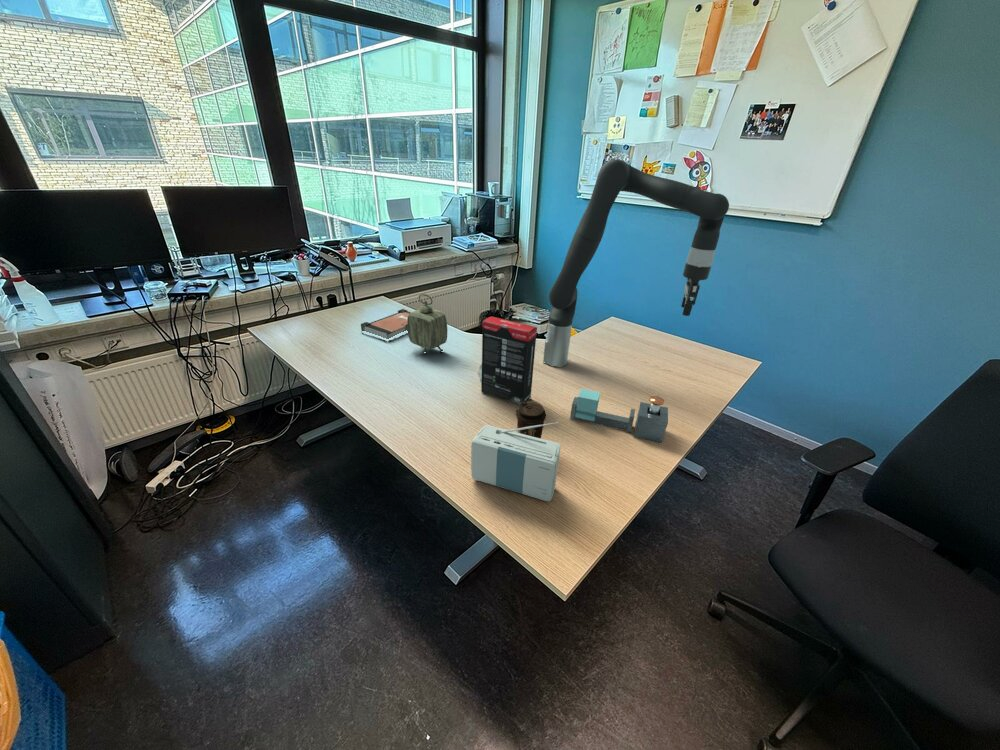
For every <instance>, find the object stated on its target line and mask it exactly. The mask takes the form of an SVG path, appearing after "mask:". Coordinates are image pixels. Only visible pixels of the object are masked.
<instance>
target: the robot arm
mask: <svg viewBox="0 0 1000 750" xmlns="http://www.w3.org/2000/svg"><path fill="white" fill-rule="evenodd" d="M620 192H625V193H632V194H635V195H640V196H643V197H646V198H647V199H651V200H653V201H654V202H657V203H659V204H662V205H664V206H668V207H670V208H674V209H676V210H680V211H685V212H688V213H691V214H692V215H694V216H697V217H699V219H698V223H697V228H696V230H695V233H694V236H693V239H692V242H691V245H690V246H691V247H690V248H689V251H688V254H687V257H686V260H685V265H684V269H683V272H682V276H683V278H684V277H685V279H687V280H686V281H685V286H684V289H683V298H682V301H681V304H680V306H681V308H683V310H682V316H685V317H689V316H690V315H691V313H692V310H693V306H695V305H696V300H697V298H698V294H699V291H700V287H701V285H700V283H699V282H700V281H706V280H708V279H709V277H710V276H709V274H710V271H711V270H712V265H713V262H714V259H715V255H716V249H717V246H718V242H719V239H720V235H721V228H722V225H723V221H724V219H725V217H726V214H728V211H729V209H730V203H729V200H728V198H727V196H725V195H724V194H722V193H716V192H715V193H714V192H711V191H707V190H704V189H699V188H698V187H696V186H693V185H690V184H687V183H685V182H681V181H677V180H674V179H669V178H664V177H660V176H658V175H653V174H651V173H647V172H645V171H642V170H640V169H638V168H636V167H634V166H633V165H631V164H629V163H627V162H626V161H625V160H623V159H615V158H613V159H610V160H607V161H606V162H605V163H603V165H602V166H601V167H600V169H599V171H598V174H597V177H596V181H595V184H594V187H593V190H592V193H591V196H590V199H589V202H588V204H587V206H586V209H585V210H584V213H583V215H582V217H581V218H580V220H579V223H578V225H577V226H576V227H577V228H576V229H575V232H574V235H573V236H572V239H571V242H570V244H569V247H568V250H567V253H566V256H565V259H564V260H563V261H564V262H563V265H562V267H561V270H560V272H559V274H558V276H557V278H556V280H555V281H554V283H553V285H552V287H551V289H550V290H549V293H548V294H549V295H548V300H549V303H550V305H551V309H550V313H549V314H548V321H547V322H548V323H547V324H548V325H547V333H546V339H545V342H544V350H543V360H542V363H543V362H545V363H544V364H546V363H547V364H549V365H551V366H550V367H553V366H562V367H565V366H567V364H568V358H569V350H570V342H571V336H572V327H573V320H574V316H575V313H576V308H577V302H578V301H577V300H578V288H577V287H578V284H579V281H580V279H581V277H582V275H583V273H584V272H585V270H586V269H587V268H588V267H589V264H590V263H591V261H592V259H593V258H594V256H595V254H596V252H597V250H598V248H599V245H600V244H601V241H602V239H603V236H604V233H605V232H606V231H605V230H606V227H607V222H608V218H609V215H610V211H611V209H612V208H613V206H614V203H615V202H616V199H617V197H618V195H620ZM547 364H546V365H547ZM549 365H548V366H549ZM564 365H565V366H564Z"/></svg>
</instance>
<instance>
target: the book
mask: <svg viewBox="0 0 1000 750" xmlns="http://www.w3.org/2000/svg"><path fill="white" fill-rule="evenodd" d="M409 313H411V311H409V310H408V309H404V308H402V309H399V310H397V312H396V313H393V314H391V315H388V316H385V317H382V318H380V319H377V320H374V321H372V322H368V321H365V322H362V323H360V329H361V332H362V331H366V332H369V333H372V334H375V335H378V336H381V337H383V338H386V339H389V338H391V337H393V336H395V335H397V334H399V333H401V332H404V331H406V330H407V331H408V325H407V319H408V316H409Z"/></svg>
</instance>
